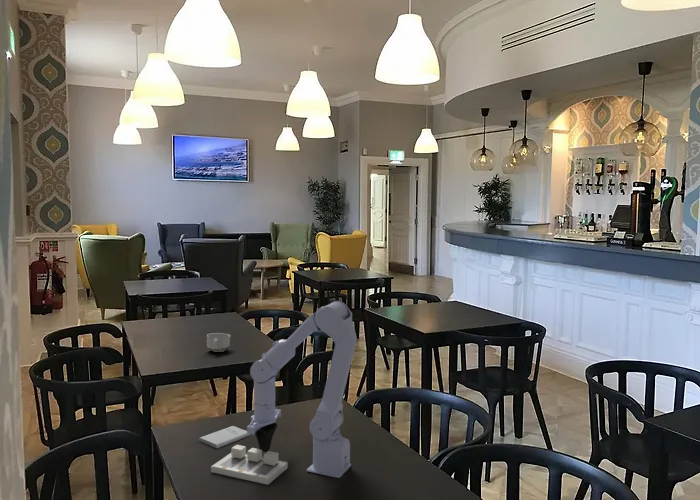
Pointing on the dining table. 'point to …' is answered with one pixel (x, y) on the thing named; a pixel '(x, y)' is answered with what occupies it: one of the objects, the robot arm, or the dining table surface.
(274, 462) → the switch tab near
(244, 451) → the switch tab far
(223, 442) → the external hard drive
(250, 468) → the panel
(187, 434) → the dining table surface
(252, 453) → the switch tab mid
